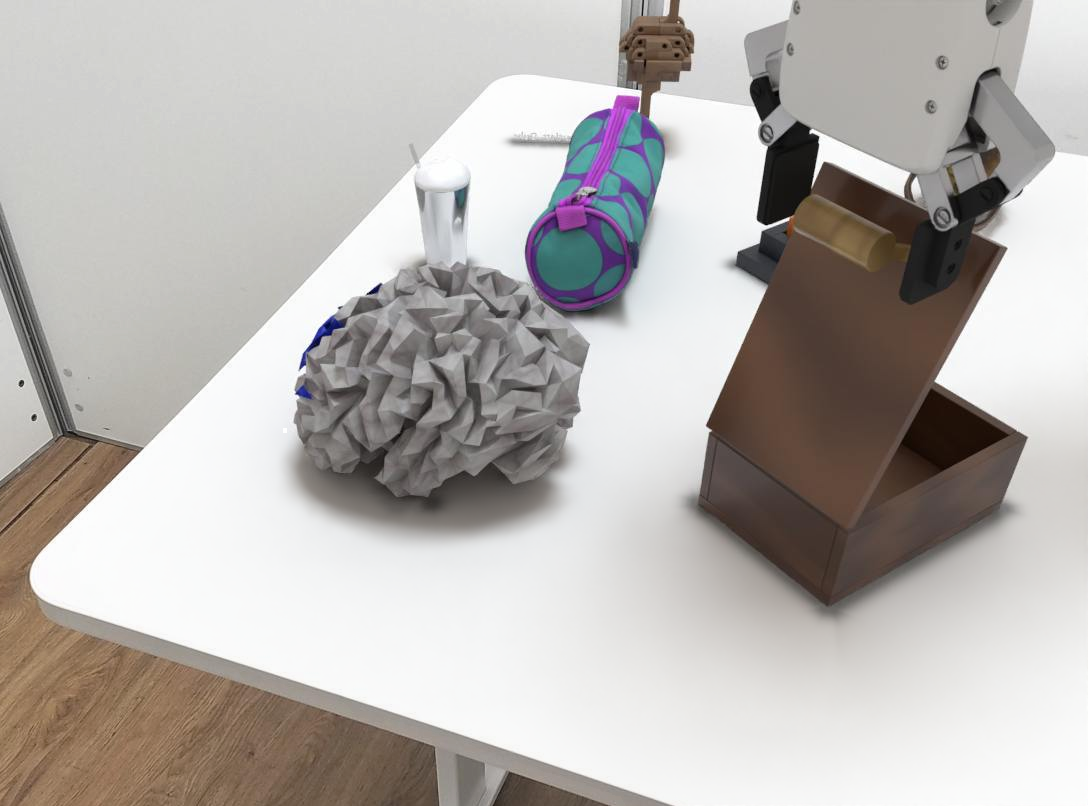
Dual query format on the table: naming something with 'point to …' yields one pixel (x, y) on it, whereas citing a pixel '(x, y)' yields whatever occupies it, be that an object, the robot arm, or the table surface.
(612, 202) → the pencil case
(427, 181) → the milkshake
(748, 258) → the push button base
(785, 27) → the robot arm
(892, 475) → the brown wooden case body
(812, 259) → the case lid
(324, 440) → the educational model
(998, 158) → the vintage brass clock
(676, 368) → the table surface
